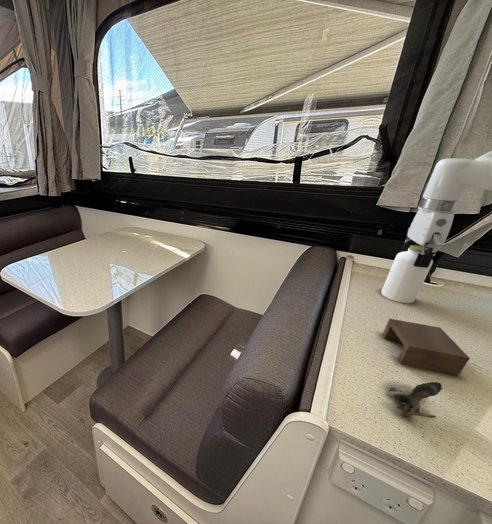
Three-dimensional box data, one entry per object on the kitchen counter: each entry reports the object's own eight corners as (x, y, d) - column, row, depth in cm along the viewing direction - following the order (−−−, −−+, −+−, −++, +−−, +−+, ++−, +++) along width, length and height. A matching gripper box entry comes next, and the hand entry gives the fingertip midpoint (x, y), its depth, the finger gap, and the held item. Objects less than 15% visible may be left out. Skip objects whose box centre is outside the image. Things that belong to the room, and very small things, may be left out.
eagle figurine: (445, 436, 46) (451, 399, 51) (428, 402, 46) (435, 367, 50) (389, 423, 53) (399, 391, 57) (373, 393, 52) (384, 363, 57)
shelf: (429, 346, 68) (440, 327, 65) (456, 379, 59) (470, 358, 56) (381, 337, 71) (389, 318, 69) (398, 366, 62) (409, 346, 60)
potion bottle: (392, 290, 93) (413, 241, 86) (420, 303, 86) (445, 251, 79) (374, 293, 91) (394, 244, 84) (401, 306, 84) (425, 253, 77)
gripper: (476, 213, 67) (445, 274, 74) (438, 200, 82) (414, 252, 89) (437, 210, 70) (410, 270, 77) (407, 198, 85) (386, 249, 92)
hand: (413, 260), depth 83 cm, fingers closed on potion bottle, 8 cm apart
